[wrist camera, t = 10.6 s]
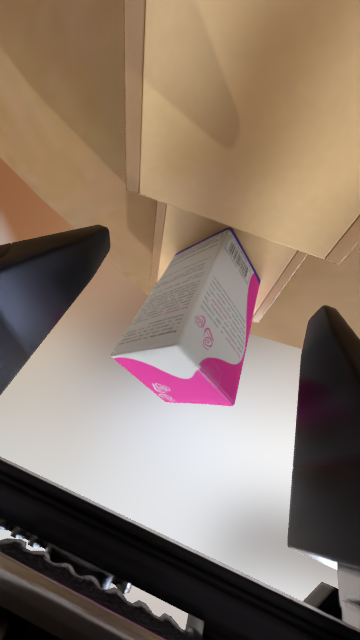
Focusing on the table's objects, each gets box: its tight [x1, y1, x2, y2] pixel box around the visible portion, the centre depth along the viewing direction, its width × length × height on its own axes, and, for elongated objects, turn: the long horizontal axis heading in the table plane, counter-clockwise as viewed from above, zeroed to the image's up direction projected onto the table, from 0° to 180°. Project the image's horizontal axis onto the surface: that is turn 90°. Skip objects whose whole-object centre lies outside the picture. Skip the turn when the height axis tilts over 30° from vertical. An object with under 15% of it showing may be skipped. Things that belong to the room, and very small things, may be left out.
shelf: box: [124, 0, 360, 323], centre depth 16 cm, size 12×19×8 cm, turn 170°
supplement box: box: [111, 226, 261, 406], centre depth 17 cm, size 6×6×12 cm
